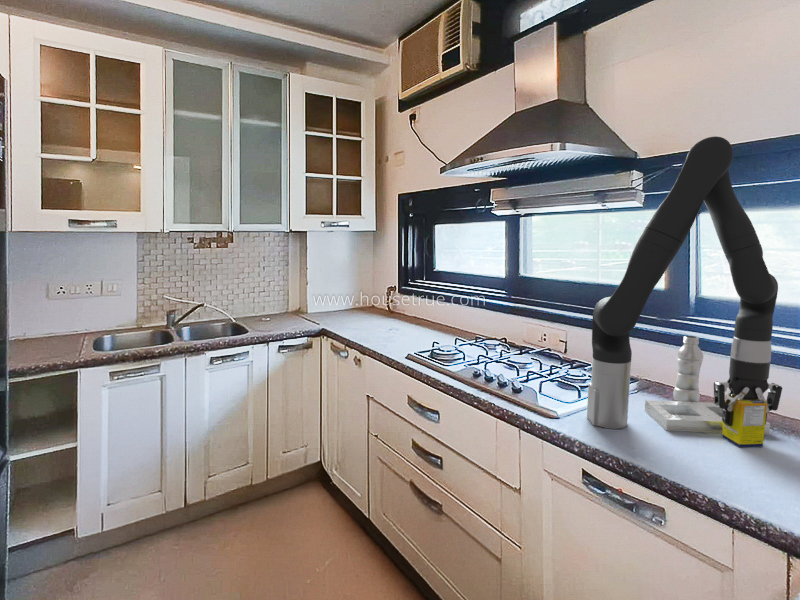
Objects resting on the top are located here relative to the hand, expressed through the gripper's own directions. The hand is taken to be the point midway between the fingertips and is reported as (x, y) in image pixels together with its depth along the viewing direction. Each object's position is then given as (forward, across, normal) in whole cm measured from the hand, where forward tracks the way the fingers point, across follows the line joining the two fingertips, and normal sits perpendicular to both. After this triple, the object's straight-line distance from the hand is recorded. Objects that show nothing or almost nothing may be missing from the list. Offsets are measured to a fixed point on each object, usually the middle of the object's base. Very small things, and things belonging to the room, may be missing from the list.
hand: (743, 425), depth 113 cm
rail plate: (+4, -3, +12) cm, 13 cm away
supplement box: (+4, 0, 0) cm, 4 cm away
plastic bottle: (+4, -1, +26) cm, 26 cm away
